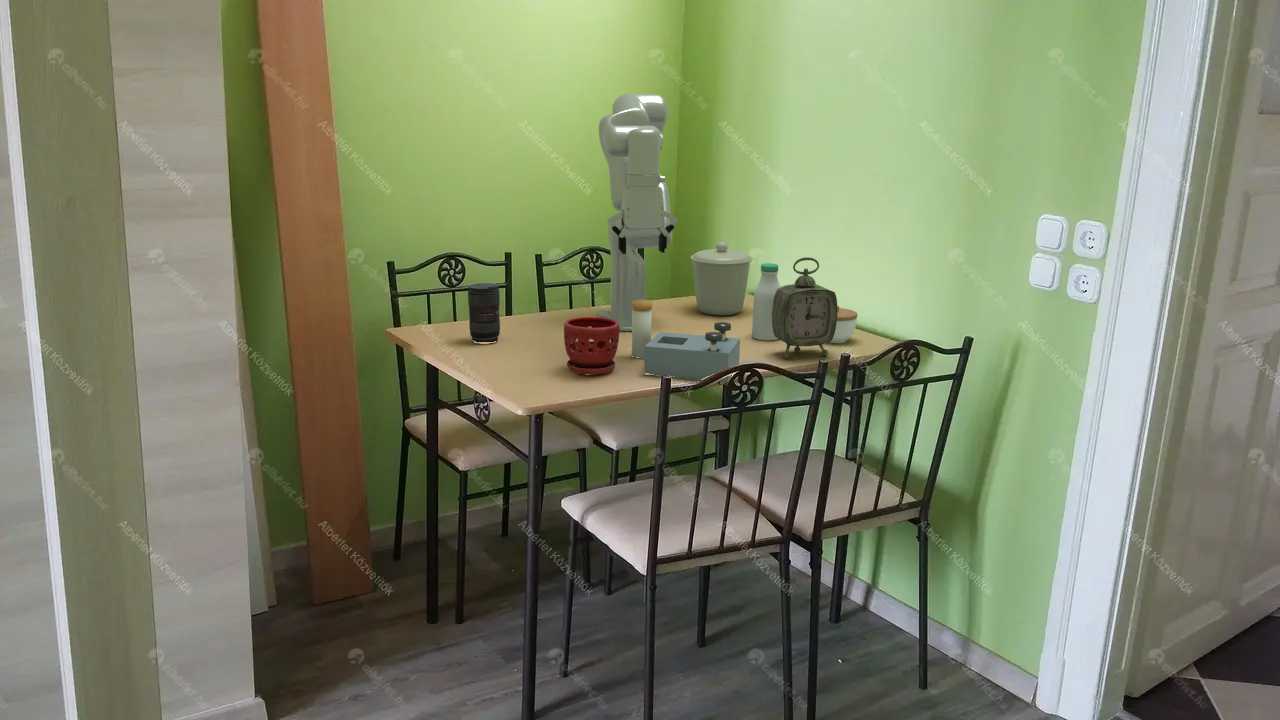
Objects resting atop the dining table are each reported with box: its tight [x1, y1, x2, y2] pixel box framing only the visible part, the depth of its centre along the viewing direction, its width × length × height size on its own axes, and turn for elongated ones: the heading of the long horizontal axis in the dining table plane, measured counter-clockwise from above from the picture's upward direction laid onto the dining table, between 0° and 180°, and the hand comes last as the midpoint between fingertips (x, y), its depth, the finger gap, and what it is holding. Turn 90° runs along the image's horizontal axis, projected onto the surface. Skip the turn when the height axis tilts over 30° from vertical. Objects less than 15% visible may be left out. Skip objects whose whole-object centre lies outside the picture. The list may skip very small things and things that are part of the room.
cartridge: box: [631, 299, 653, 358], centre depth 249 cm, size 5×5×14 cm
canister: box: [690, 241, 753, 317], centre depth 294 cm, size 18×18×21 cm
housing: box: [643, 331, 741, 384], centre depth 238 cm, size 20×14×7 cm
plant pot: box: [563, 316, 620, 376], centre depth 237 cm, size 13×13×12 cm
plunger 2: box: [713, 321, 732, 341], centre depth 240 cm, size 4×4×7 cm
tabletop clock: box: [772, 256, 838, 360], centre depth 250 cm, size 14×9×25 cm, turn 106°
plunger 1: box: [705, 331, 723, 351], centre depth 231 cm, size 4×4×7 cm
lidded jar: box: [828, 305, 858, 344], centre depth 266 cm, size 11×11×9 cm
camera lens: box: [467, 282, 501, 342], centre depth 261 cm, size 8×8×15 cm
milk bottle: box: [751, 262, 781, 342], centre depth 267 cm, size 8×8×20 cm
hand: (642, 252), depth 243 cm, fingers open, 9 cm apart
